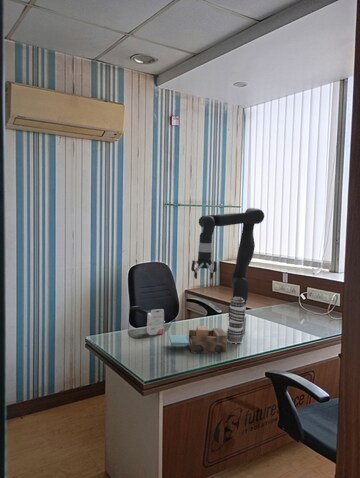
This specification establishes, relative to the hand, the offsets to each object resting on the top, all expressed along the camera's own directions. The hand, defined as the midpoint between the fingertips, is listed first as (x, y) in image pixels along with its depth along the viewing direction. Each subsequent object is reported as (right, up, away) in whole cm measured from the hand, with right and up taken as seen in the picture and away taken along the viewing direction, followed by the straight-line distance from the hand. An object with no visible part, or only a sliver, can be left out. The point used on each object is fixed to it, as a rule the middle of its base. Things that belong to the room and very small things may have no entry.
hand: (203, 278), depth 230 cm
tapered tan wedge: (-2, -31, -18) cm, 36 cm away
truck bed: (+1, -35, -18) cm, 39 cm away
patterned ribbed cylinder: (+17, -35, -4) cm, 39 cm away
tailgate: (-9, -31, -19) cm, 37 cm away
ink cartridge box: (-28, -32, +2) cm, 42 cm away
